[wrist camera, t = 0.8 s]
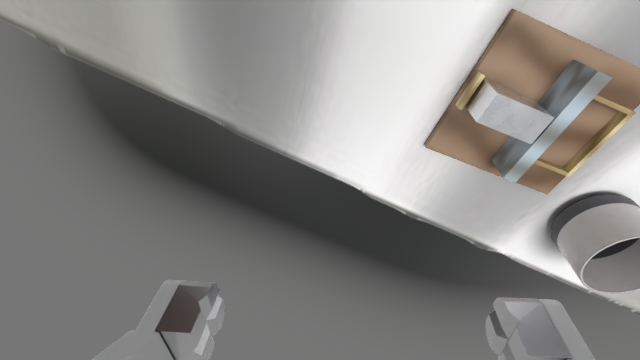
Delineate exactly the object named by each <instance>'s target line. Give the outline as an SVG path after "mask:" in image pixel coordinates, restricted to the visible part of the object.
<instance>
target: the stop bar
mask: <svg viewBox="0 0 640 360" xmlns="http://www.w3.org/2000/svg"><path fill="white" fill-rule="evenodd" d="M465 107H466V108H467V110H468V111H469V113H470V114H471V115H472V117H473V118H474V120H475V121H476V122H477V123H480V124H482V125H485V126H487V127H490V128H492V129H494V130H497V131H499V132H502V133H504V134H507V135H509V136H512V137H514V138H516V139H519V140H521V141H524V142H526V143H529V144H532V143H533V142H534V141H535V139H536V138H537V137H538V136H539V135H540V134H541V133H542V131H543V130H544V129H545V128H546V127H547V126H548V125H549V124H550V122H551V121H552V120H553V119H554V118H555V117H554V116H552V115H551V114H550V113H549V112H548V111H546V110H545V109H544V108H543V107H542V106H540V105H539V104H538V103H537V102H536V101H534V100H533V99H532V98H529V97H527V96H525V95H522V94H520V93H518V92H515V91H513V90H511V89H508V88H506V87H504V86H501V85H499V84H497V83H495V82H492V81H490V80H488V79H485V78H484V79H483V80H482V82H481V83H480V85H479V86H478V87H477V89H476V90H475V92H474V93H473V95H472V96H471V98H470V99H469V101H468V102H467V104H466V105H465Z"/></svg>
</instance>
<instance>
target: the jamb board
mask: <svg viewBox="0 0 640 360" xmlns="http://www.w3.org/2000/svg"><path fill="white" fill-rule="evenodd" d="M484 78H485V79H488V80H490V81H492V82H495V83H497V84H499V85H501V86H504V87H506V88H508V89H511V90H513V91H515V92H518V93H520V94H522V95H525V96H527V97H529V98H532V99H533V100H534V101H536V102H537V103H538V104H539V105H540V106H542V107H543V108H544V109H545V110H546V111H548V112H549V113H550V114H551V115H552V116H554V117H555V118H554V119H553V120H552V121H551V122H550V124H549V125H548V126H547V127H546V128H545V129H544V130H543V131H542V133H541V134H540V135H539V136H538V137H537V138H536V139H535V141H534V142H533V143H532V144H529V143H526V142H524V141H521V140H519V139H516V138H514V137H512V136H509V135H507V134H504V133H502V132H499V131H497V130H494V129H492V128H490V127H487V126H485V125H482V124H480V123H477V122H476V121H475V120H474V118H473V117H472V115H471V114H470V113H469V111H468V110H467V108H466V107H465V105H466V104H467V102H468V101H469V99H470V98H471V96H472V95H473V93H474V92H475V90H476V89H477V87H478V86H479V85H480V83H481V82H482V80H483V79H484ZM639 104H640V68H638V67H636V66H633V65H631V64H629V63H627V62H625V61H623V60H621V59H619V58H617V57H614V56H612V55H610V54H608V53H606V52H604V51H602V50H600V49H597V48H595V47H593V46H591V45H589V44H587V43H585V42H583V41H581V40H578V39H576V38H574V37H572V36H570V35H568V34H566V33H564V32H561V31H559V30H557V29H555V28H553V27H551V26H549V25H547V24H545V23H542V22H540V21H538V20H536V19H534V18H532V17H530V16H528V15H525V14H523V13H521V12H519V11H517V10H514V9H512V10H511V12H510V13H509V15H508V16H507V18H506V20H505V21H504V23H503V24H502V26H501V27H500V29H499V30H498V32H497V33H496V35H495V36H494V38H493V39H492V41H491V43H490V44H489V46H488V47H487V49H486V50H485V52H484V53H483V55H482V56H481V58H480V59H479V61H478V62H477V64H476V66H475V67H474V69H473V70H472V72H471V73H470V75H469V76H468V78H467V79H466V81H465V82H464V84H463V85H462V87H461V89H460V90H459V92H458V93H457V95H456V96H455V98H454V99H453V101H452V102H451V104H450V105H449V107H448V108H447V110H446V112H445V113H444V115H443V116H442V118H441V119H440V121H439V122H438V124H437V125H436V127H435V128H434V130H433V131H432V133H431V135H430V136H429V138H428V139H427V141H426V142H425V146H426V148H429V149H431V150H434V151H436V152H439V153H442V154H444V155H447V156H449V157H452V158H455V159H457V160H460V161H462V162H465V163H467V164H470V165H473V166H475V167H478V168H480V169H483V170H486V171H488V172H491V173H493V174H496V175H498V176H501V177H503V178H504V179H507V180H510V181H512V182H515V183H516V182H517V183H519V184H522V185H524V186H527V187H529V188H532V189H535V190H537V191H540V192H542V193H545V194H548V193H549V192H550V191H551V190H552V189H553V188H554V187H555V186H556V185H557V184H558V183H559V182H560V181H561V180H562V179H563V178H564V177H565V176H567V177H570V176H571V175H572V174H573V173H574V172H575V171H576V170H577V169H578V168H579V167H580V166H581V165H582V164H583V163H584V162H585V161H586V160H587V159H588V158H589V157H590V156H591V155H592V154H593V153H594V152H595V151H596V150H597V149H599V148H600V147H601V146H602V145H603V144H604V143H605V142H606V141H607V140H608V139H609V138H610V137H611V136H612V135H613V134H614V133H615V132H616V131H617V130H618V129H619V128H620V127H621V126H622V125H623V124H624V123H625V122H627V121H628V120H629V119H630V118H631V117H632V116H633V115H634V114H635V113H636V112H634V111H633V110H634V109H635V108H636V107H637V106H638V105H639Z"/></svg>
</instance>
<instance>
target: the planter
mask: <svg viewBox="0 0 640 360" xmlns="http://www.w3.org/2000/svg"><path fill="white" fill-rule="evenodd" d="M551 237H552V239H553V241H554V243H555V244H556V245H557V247H558V248H559V250H560V251H561V253H562V254H563V256H564V257H565V259H566V260H567V261H568V263H569V264H570V266H571V267H572V269H573V270H574V272H575V273H576V275H577V276H578V277H579V279H580V280H581V282H582V283H583V284H584V285H585V286H586V287H587V288H589V289H591V290H593V291H596V292H600V293H607V294H620V293H628V292H633V291H638V290H640V207H639V206H638V205H637V204H636V203H635V202H634V201H632V200H631V199H629V198H627V197H625V196H621V195H614V194H605V195H597V196H592V197H589V198H586V199H583V200H580V201H578V202H576V203H574V204H572V205H571V206H569V207H568V208H566V209H565V210H564V211H562V212H561V213H560V214H559V215H558V216H557V218H556V219H555V220H554V222H553V224H552V227H551Z"/></svg>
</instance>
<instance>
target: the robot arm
mask: <svg viewBox="0 0 640 360" xmlns="http://www.w3.org/2000/svg"><path fill="white" fill-rule="evenodd" d="M218 293H219V287H218V284H217V283H207V282H193V281H180V280H179V281H178V280H167V281H165V282H164V283H163V284H162V286H161V287H160V289H159V291H158V292H157V294H156V296H155V298H154V299H153V301H152V303H151V304H150V306H149V308H148V310H147V311H146V313H145V315H144V316H143V318H142V320H141V322H140V323H139V325H138V327H137V328H136V330H130V331H129V332H127V333H126V334H125V335H123V336H122V337H121V338H120V339H118V340H117V341H116V342H114V343H113V344H112V345H110V346H109V347H108V348H106V349H105V350H104V351H103V352H101V353H100V354H98V355H97V356H96V357H95V358H93V359H92V360H210V357H211V354H212V351H213V348H214V346H215V344H214V341H213V338H212V337H213V336H214V335H215V334H216V333H218V332H219V331H220V329H221V326H222V323H223V318H224V311H225V310H224V302H223V299H222V298H220V297H219V296H218ZM493 306H494V308H495V311H493V312H492V313H490V314H489V315H488V317H487V320H486V334H487V339H488V342H489V345H490V348H491V349H492V350H493V351H494V352H495V353H496V354H497V355H498V356H499V358H498V360H595V358H594V357H593V355H592V354H591V352H590V350H589V349H588V347H587V345H586V344H585V342H584V340H583V339H582V337H581V335H580V334H579V332H578V330H577V329H576V327H575V326H574V324H573V322H572V321H571V319H570V317H569V316H568V314H567V312H566V311H565V309H564V308H563V306H562V304H561V303H559V302H558V301H557V300H540V299H537V300H536V299H530V298H503V297H499V298H497V299H496V300H495V302H494V304H493Z"/></svg>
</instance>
